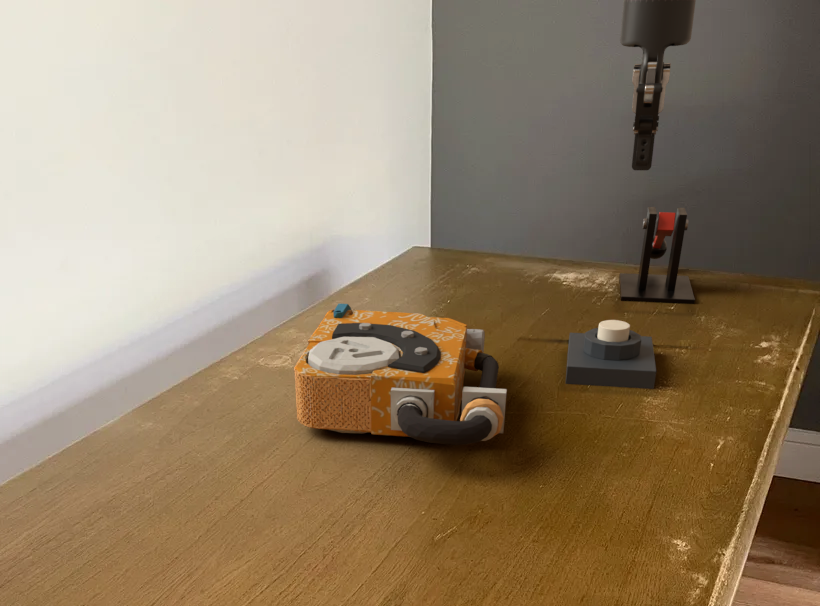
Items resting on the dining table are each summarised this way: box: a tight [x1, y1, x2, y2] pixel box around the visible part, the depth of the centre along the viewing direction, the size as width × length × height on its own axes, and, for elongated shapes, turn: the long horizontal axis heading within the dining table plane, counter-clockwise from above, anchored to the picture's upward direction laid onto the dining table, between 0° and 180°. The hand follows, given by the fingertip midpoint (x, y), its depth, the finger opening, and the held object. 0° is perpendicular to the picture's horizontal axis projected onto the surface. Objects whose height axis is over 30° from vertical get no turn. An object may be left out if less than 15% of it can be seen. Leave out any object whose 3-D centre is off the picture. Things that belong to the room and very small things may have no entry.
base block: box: [565, 327, 657, 390], centre depth 114 cm, size 12×10×4 cm
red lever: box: [650, 211, 677, 260], centre depth 139 cm, size 14×3×3 cm, turn 169°
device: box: [293, 302, 508, 446], centre depth 103 cm, size 23×8×30 cm
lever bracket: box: [618, 206, 696, 305], centre depth 136 cm, size 12×10×12 cm
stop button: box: [597, 319, 631, 342], centre depth 113 cm, size 4×4×2 cm
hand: (641, 168), depth 112 cm, fingers closed
